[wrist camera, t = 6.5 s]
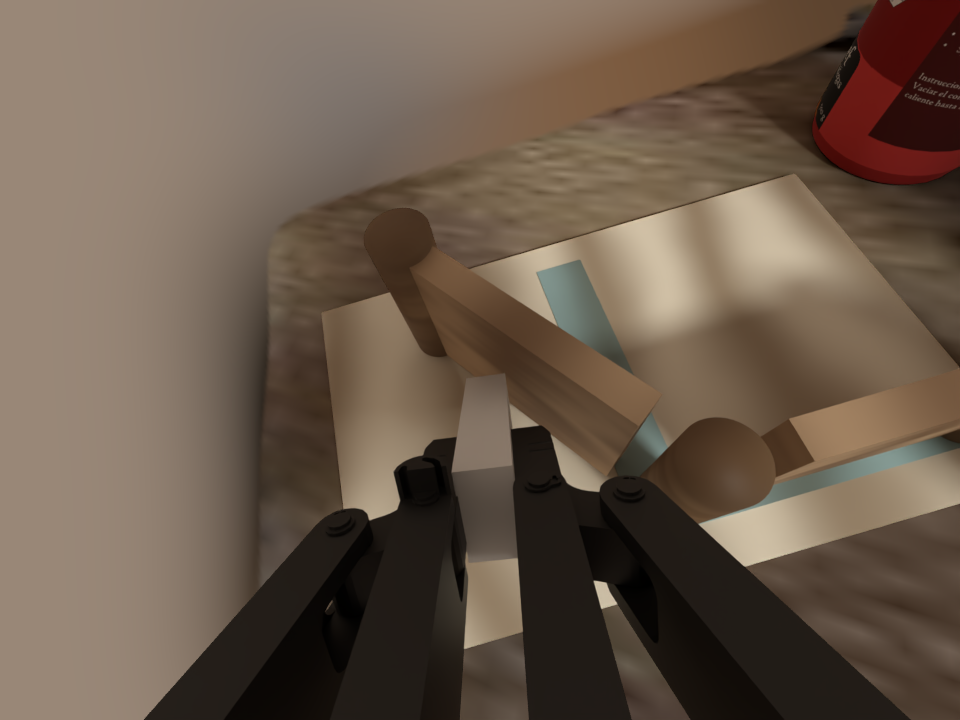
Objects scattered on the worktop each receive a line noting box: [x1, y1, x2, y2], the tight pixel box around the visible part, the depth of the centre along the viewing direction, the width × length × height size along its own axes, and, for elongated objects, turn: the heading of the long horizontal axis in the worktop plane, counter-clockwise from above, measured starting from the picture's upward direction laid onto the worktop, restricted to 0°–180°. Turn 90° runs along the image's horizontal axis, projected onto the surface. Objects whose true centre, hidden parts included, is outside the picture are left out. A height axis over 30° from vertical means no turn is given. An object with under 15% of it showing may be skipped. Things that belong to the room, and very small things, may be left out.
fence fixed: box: [640, 369, 960, 524], centre depth 15 cm, size 15×2×8 cm, turn 105°
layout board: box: [321, 173, 960, 649], centre depth 21 cm, size 27×17×1 cm, turn 105°
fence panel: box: [364, 208, 663, 476], centre depth 17 cm, size 11×2×8 cm, turn 49°
